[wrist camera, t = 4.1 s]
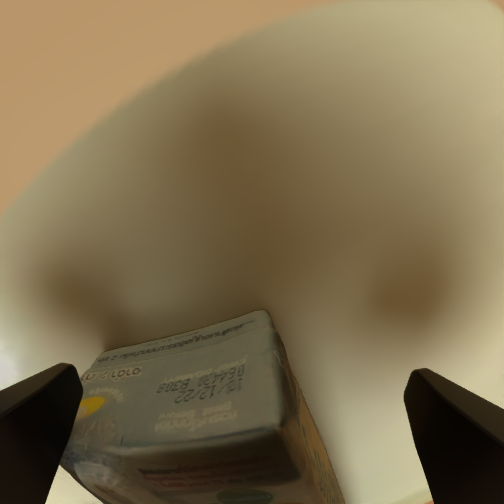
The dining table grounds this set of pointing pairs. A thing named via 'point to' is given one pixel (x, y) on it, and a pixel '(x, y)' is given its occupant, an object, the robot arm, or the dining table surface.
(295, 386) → the beverage carton
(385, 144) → the dining table surface
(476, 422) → the robot arm
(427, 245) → the dining table surface
